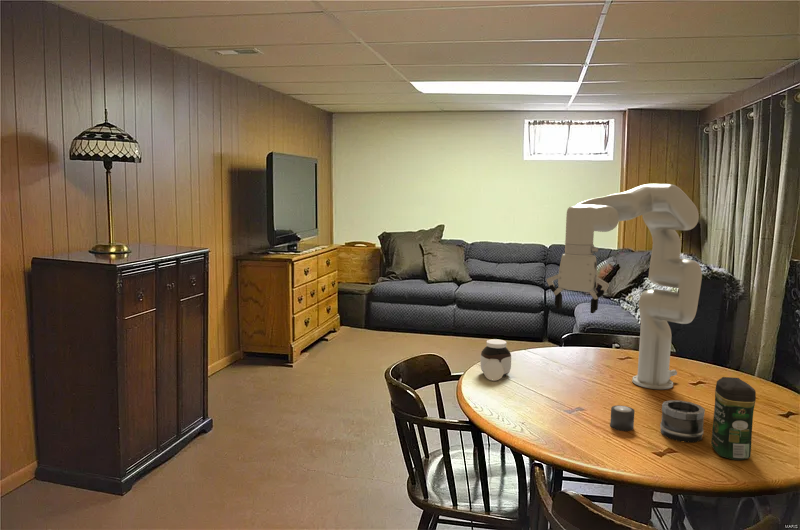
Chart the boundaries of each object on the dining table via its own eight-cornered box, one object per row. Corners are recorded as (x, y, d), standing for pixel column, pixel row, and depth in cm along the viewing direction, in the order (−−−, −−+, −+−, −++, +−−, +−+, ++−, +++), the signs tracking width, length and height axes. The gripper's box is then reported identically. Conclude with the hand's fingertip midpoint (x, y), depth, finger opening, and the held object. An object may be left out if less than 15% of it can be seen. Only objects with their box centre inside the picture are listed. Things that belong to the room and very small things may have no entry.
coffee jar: (706, 443, 157) (712, 373, 155) (739, 445, 156) (745, 375, 154) (719, 460, 148) (725, 386, 145) (754, 463, 147) (761, 388, 144)
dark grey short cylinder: (620, 421, 172) (621, 403, 171) (638, 428, 166) (639, 410, 166) (605, 425, 169) (606, 407, 168) (622, 432, 164) (623, 414, 163)
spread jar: (502, 369, 217) (503, 337, 216) (519, 379, 207) (520, 346, 205) (472, 373, 213) (473, 340, 212) (487, 383, 203) (488, 349, 201)
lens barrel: (677, 424, 170) (679, 397, 169) (711, 438, 161) (714, 410, 160) (651, 431, 165) (653, 403, 164) (685, 445, 156) (687, 417, 155)
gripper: (613, 251, 170) (610, 311, 172) (552, 247, 179) (549, 304, 181) (607, 253, 164) (603, 316, 166) (544, 249, 173) (541, 309, 175)
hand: (575, 310), depth 174 cm, fingers open, 9 cm apart
